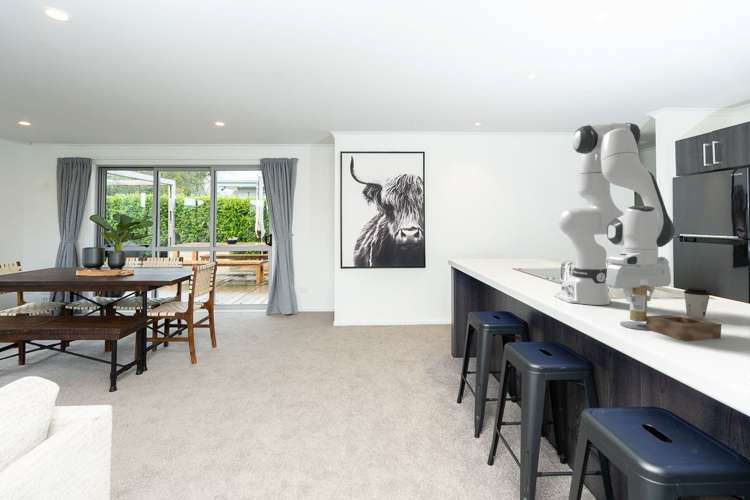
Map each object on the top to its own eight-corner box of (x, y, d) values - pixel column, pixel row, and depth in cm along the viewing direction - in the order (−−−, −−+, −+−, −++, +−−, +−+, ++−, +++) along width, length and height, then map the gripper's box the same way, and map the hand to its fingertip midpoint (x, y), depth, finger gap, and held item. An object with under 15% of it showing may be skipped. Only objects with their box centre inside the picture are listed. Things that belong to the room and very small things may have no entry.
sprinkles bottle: (649, 320, 115) (650, 278, 114) (643, 323, 112) (644, 279, 111) (632, 317, 118) (634, 276, 117) (626, 320, 116) (627, 278, 115)
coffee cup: (714, 320, 120) (715, 291, 120) (688, 319, 122) (689, 290, 122) (702, 315, 127) (704, 287, 126) (678, 314, 129) (679, 286, 128)
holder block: (645, 328, 112) (646, 316, 112) (678, 326, 114) (679, 314, 114) (684, 340, 101) (685, 326, 100) (720, 338, 102) (721, 324, 102)
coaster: (613, 323, 119) (613, 322, 119) (637, 321, 120) (637, 320, 120) (637, 331, 110) (637, 329, 110) (662, 329, 112) (662, 328, 112)
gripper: (658, 255, 119) (657, 297, 120) (603, 257, 115) (602, 300, 116) (677, 257, 112) (676, 301, 113) (619, 259, 109) (618, 304, 110)
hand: (638, 301), depth 115 cm, fingers closed on sprinkles bottle, 4 cm apart
